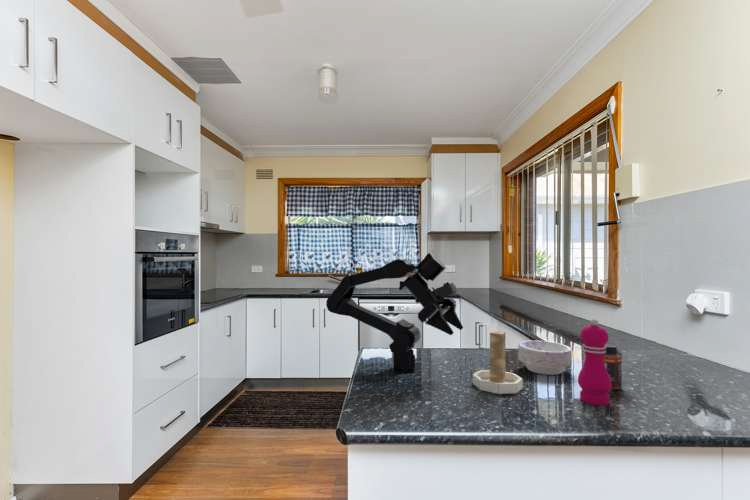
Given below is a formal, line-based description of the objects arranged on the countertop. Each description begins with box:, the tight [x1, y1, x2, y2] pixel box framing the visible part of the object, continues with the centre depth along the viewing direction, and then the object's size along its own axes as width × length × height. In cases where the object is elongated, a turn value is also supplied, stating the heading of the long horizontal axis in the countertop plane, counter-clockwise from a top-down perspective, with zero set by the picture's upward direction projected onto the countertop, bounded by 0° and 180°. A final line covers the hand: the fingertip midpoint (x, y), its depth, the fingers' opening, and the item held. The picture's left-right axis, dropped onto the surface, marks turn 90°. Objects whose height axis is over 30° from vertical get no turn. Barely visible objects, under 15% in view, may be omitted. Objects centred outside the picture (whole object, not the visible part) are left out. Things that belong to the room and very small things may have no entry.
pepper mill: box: [577, 318, 612, 407], centre depth 93 cm, size 7×7×20 cm
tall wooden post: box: [489, 330, 506, 383], centre depth 104 cm, size 3×3×14 cm
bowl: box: [472, 369, 524, 395], centre depth 103 cm, size 12×12×2 cm
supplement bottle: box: [604, 343, 623, 391], centre depth 103 cm, size 6×6×11 cm
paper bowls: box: [517, 339, 573, 376], centre depth 118 cm, size 15×15×8 cm
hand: (457, 331), depth 110 cm, fingers open, 9 cm apart
